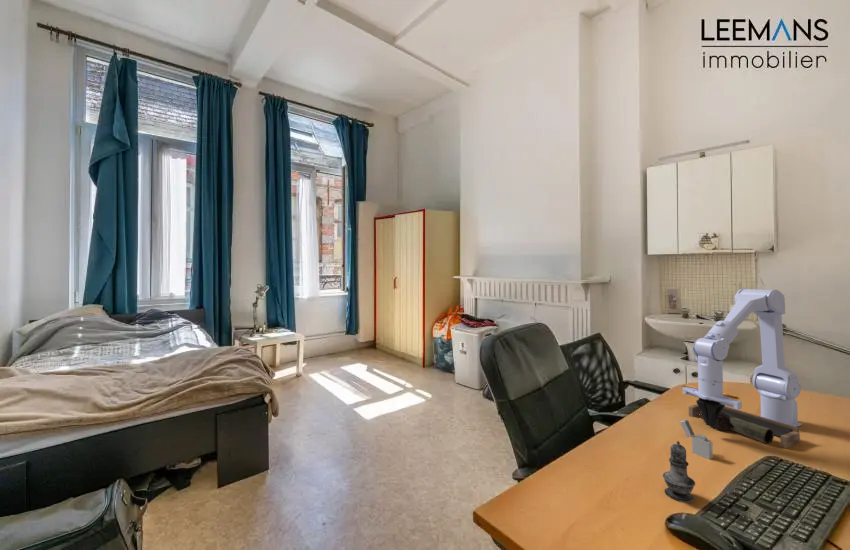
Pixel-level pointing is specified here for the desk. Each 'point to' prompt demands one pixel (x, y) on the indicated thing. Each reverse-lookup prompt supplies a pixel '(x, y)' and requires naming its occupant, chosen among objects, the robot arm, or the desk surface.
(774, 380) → the robot arm
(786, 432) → the bearing cradle
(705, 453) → the lighter
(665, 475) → the salt shaker
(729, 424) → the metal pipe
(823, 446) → the desk surface
